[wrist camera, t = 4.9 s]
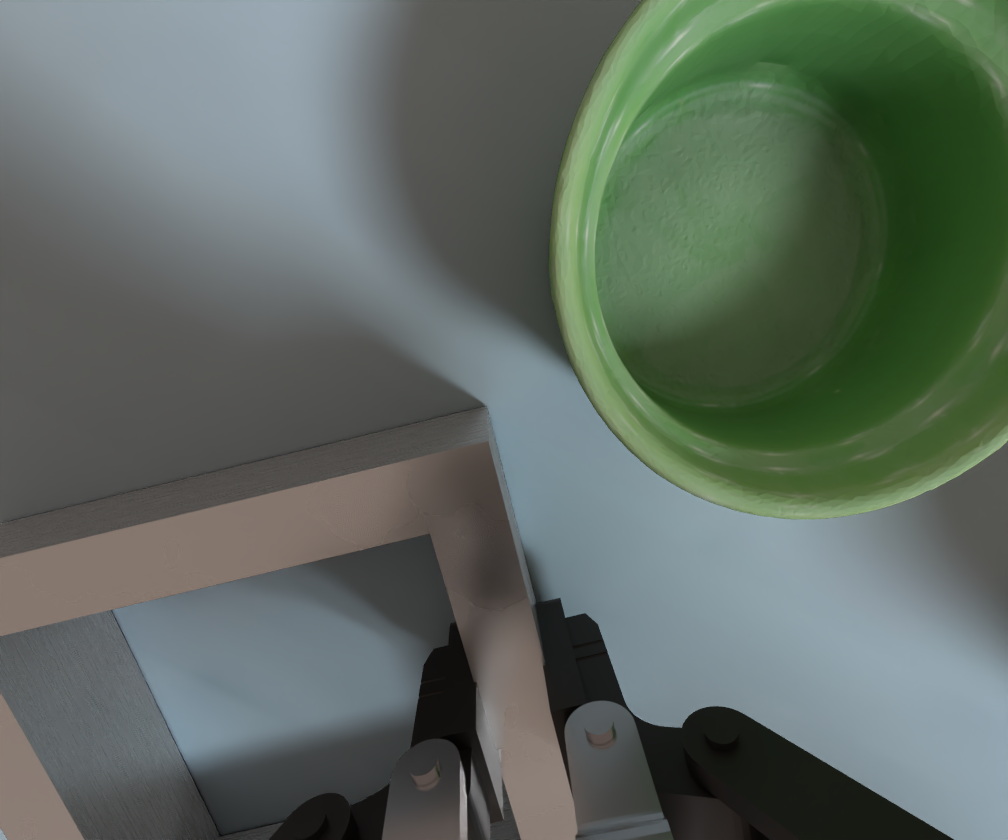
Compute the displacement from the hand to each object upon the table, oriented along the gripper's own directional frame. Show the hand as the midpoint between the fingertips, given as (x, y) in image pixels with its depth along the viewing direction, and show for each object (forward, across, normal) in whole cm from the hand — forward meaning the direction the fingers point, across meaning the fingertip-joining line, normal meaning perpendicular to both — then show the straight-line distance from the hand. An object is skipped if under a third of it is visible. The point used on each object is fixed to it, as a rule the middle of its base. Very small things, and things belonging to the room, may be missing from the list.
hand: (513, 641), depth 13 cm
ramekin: (+1, -7, -8) cm, 11 cm away
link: (+1, +5, 0) cm, 5 cm away
